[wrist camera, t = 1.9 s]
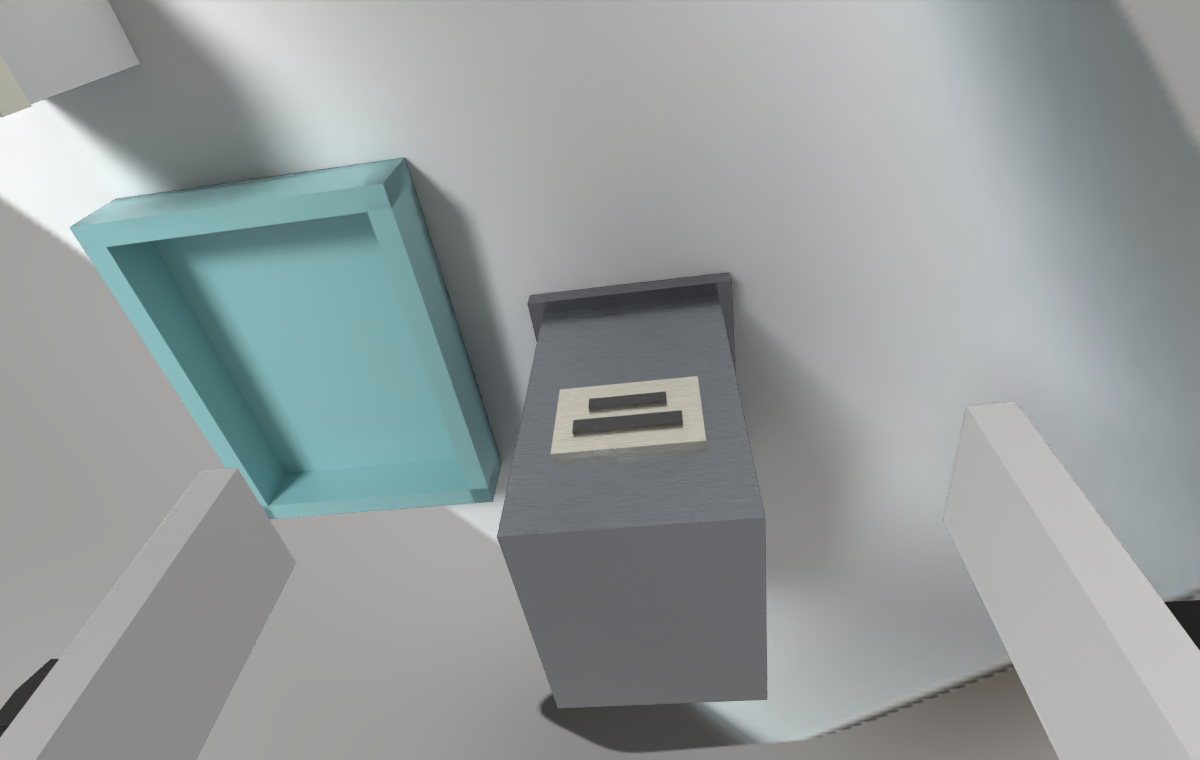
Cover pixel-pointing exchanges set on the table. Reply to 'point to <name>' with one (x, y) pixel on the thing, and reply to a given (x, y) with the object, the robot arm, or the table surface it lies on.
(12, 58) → the white tall square block
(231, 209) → the parts tray
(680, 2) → the table surface
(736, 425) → the controller unit
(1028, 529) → the robot arm
